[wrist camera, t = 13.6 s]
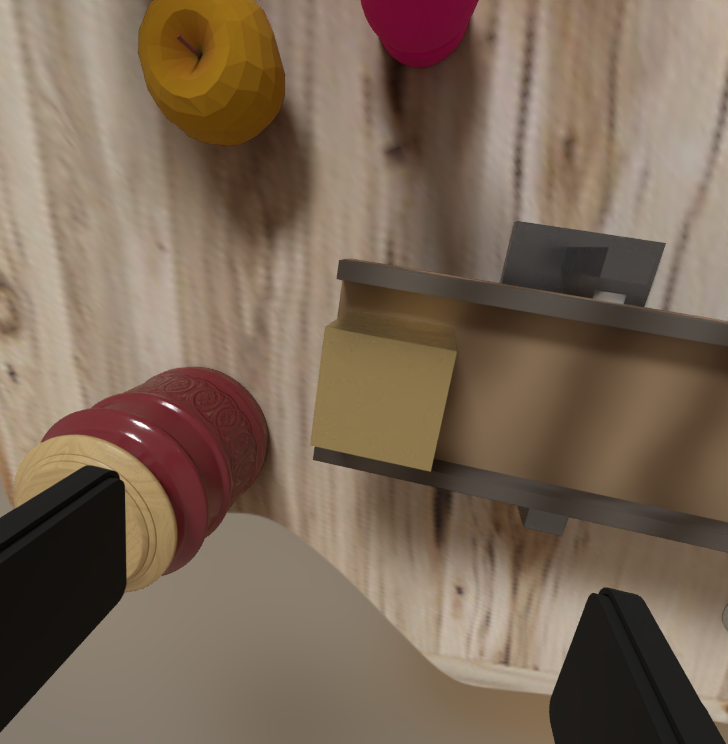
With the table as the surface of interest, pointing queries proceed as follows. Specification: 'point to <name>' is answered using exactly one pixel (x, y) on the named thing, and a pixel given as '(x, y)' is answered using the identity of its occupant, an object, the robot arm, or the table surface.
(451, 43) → the pepper mill
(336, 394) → the block
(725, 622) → the chalice
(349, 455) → the beam
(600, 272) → the stand
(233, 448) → the canister
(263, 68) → the apple
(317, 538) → the table surface
